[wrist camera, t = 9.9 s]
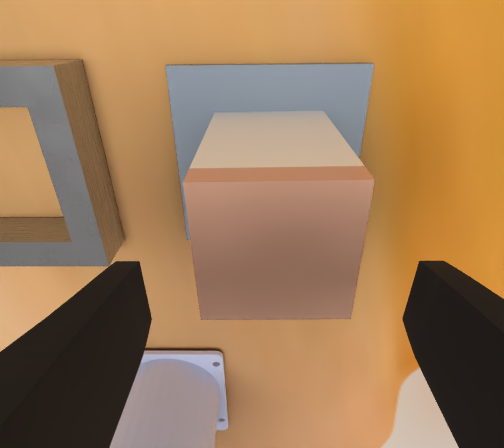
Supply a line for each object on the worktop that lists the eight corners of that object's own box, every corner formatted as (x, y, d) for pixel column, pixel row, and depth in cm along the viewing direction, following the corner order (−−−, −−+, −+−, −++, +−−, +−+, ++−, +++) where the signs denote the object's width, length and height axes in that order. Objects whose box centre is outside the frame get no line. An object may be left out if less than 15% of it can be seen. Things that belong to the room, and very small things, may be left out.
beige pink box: (315, 207, 18) (350, 319, 11) (221, 208, 18) (201, 319, 12) (323, 110, 16) (375, 179, 9) (214, 112, 16) (182, 182, 9)
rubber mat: (345, 235, 20) (346, 239, 19) (188, 236, 20) (187, 239, 19) (371, 62, 15) (374, 63, 15) (167, 65, 15) (165, 65, 15)
